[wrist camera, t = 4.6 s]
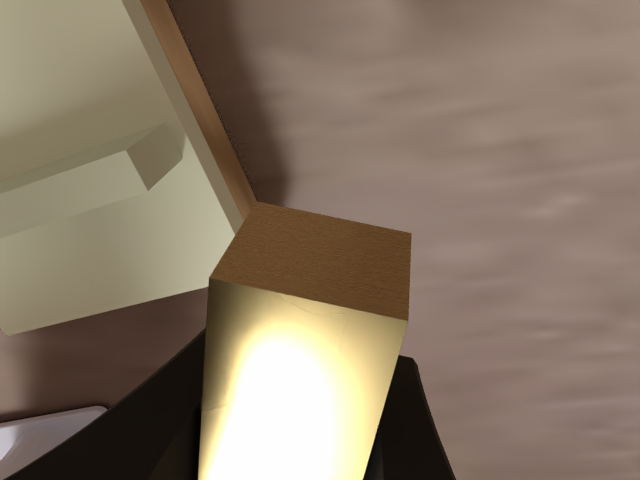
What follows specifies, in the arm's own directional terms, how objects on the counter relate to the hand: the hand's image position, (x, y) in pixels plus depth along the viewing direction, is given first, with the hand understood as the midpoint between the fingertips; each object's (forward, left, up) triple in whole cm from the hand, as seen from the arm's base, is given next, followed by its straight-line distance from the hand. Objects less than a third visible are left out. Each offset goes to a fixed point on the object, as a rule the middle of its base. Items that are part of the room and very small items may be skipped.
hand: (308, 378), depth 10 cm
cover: (+5, +10, -9) cm, 14 cm away
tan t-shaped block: (0, 0, -4) cm, 4 cm away
